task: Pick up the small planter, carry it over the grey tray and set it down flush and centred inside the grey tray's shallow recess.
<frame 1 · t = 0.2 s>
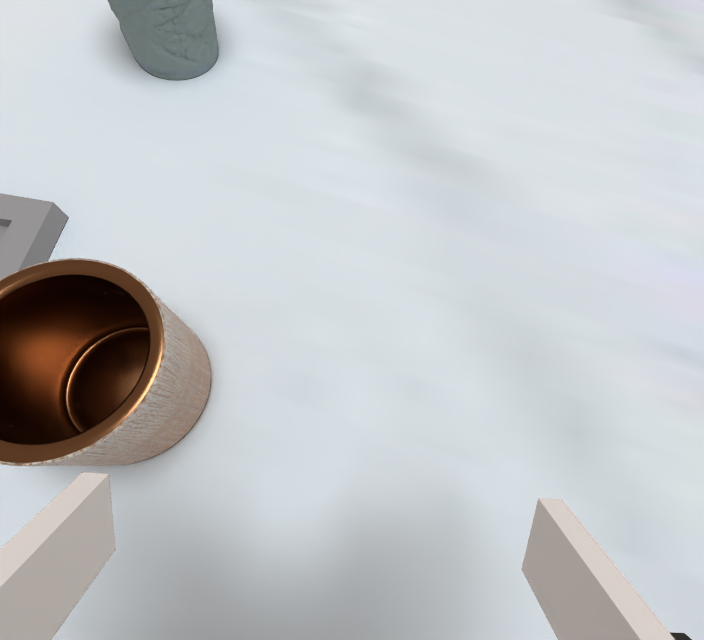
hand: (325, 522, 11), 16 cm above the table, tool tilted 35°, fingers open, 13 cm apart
planter: (138, 386, 28), on the table
grey cup: (180, 54, 40), on the table
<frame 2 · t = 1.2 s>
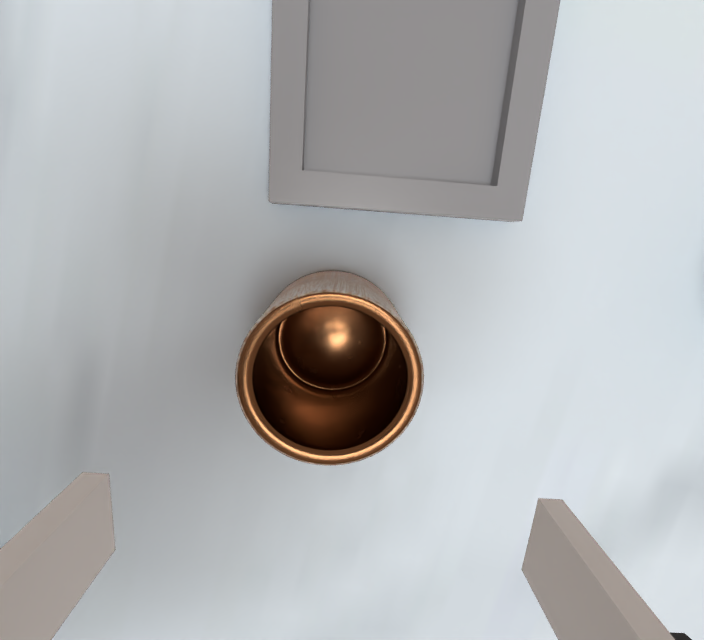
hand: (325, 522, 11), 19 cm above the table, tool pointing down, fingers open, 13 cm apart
grey tray: (406, 79, 26), on the table
planter: (332, 335, 30), on the table
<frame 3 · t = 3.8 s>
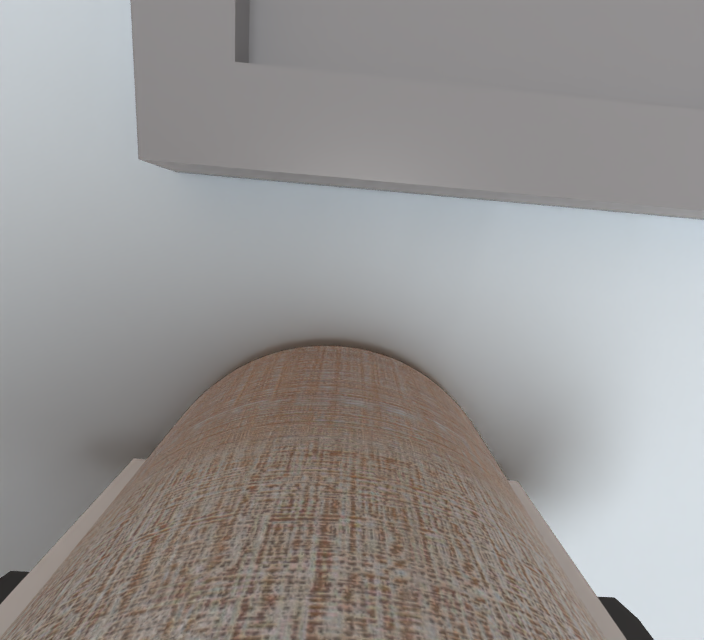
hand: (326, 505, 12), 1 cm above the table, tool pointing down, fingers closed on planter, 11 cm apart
planter: (328, 481, 13), on the table, touching gripper
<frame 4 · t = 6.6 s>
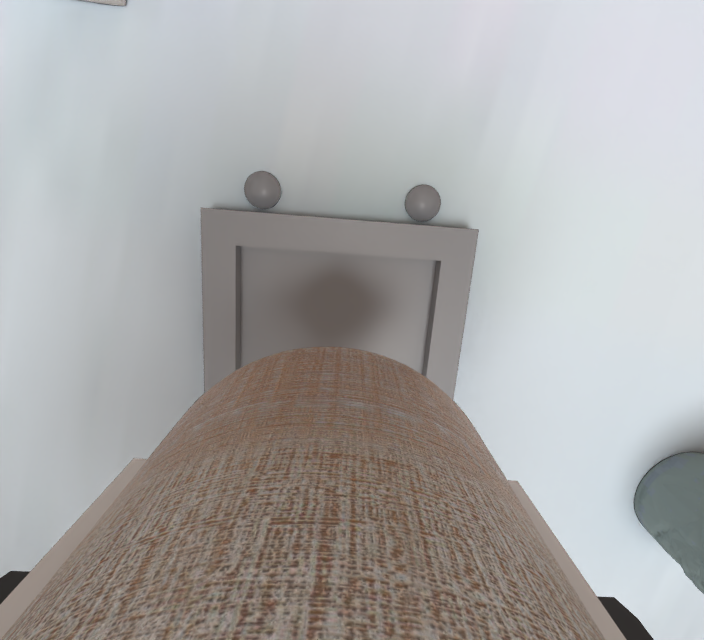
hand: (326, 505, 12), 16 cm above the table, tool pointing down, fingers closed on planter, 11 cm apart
grey tray: (333, 342, 28), on the table
planter: (328, 482, 13), point 15 cm above the table, touching gripper
grey cup: (679, 495, 32), on the table
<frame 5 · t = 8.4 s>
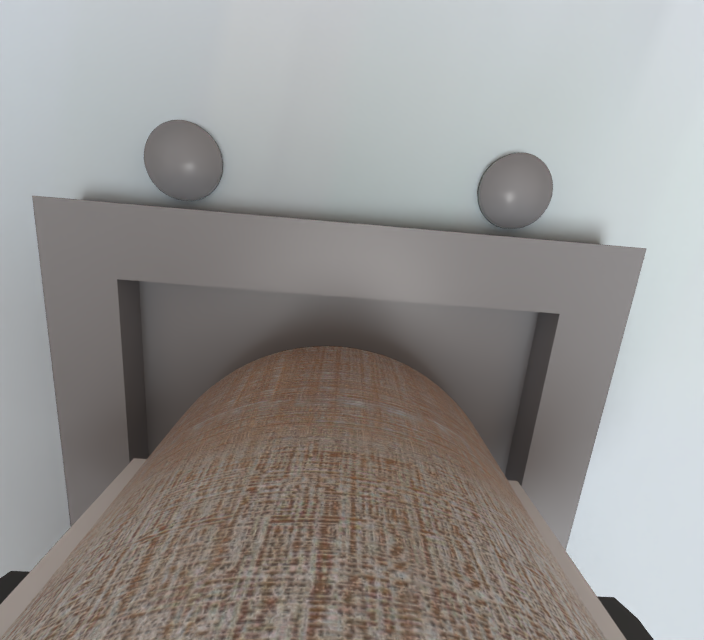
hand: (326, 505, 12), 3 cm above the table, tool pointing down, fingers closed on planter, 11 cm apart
grey tray: (330, 454, 15), on the table
planter: (328, 481, 13), point 2 cm above the table, touching gripper
when the fingers open (3 cm above the table, at t = 9.6 s): planter stays where it is, resting on grey tray.
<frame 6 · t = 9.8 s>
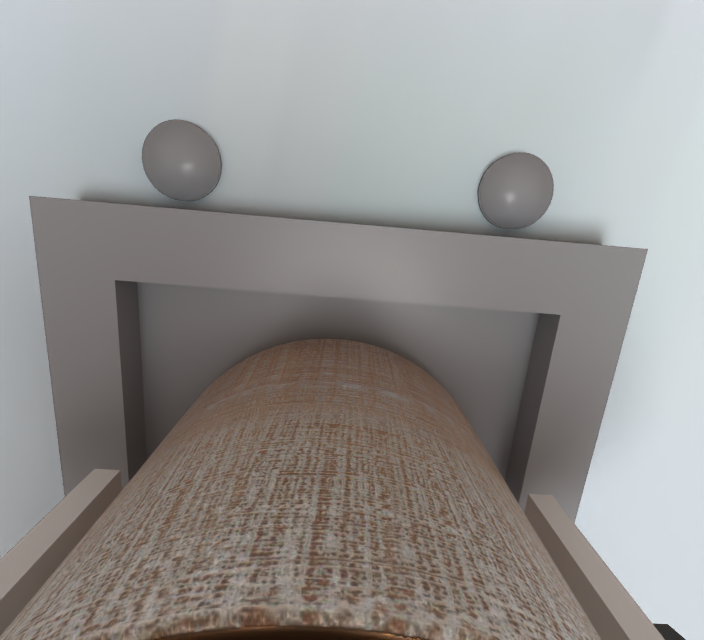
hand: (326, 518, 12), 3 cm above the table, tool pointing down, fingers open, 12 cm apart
grey tray: (330, 455, 15), on the table
planter: (328, 466, 14), point 1 cm above the table, touching grey tray
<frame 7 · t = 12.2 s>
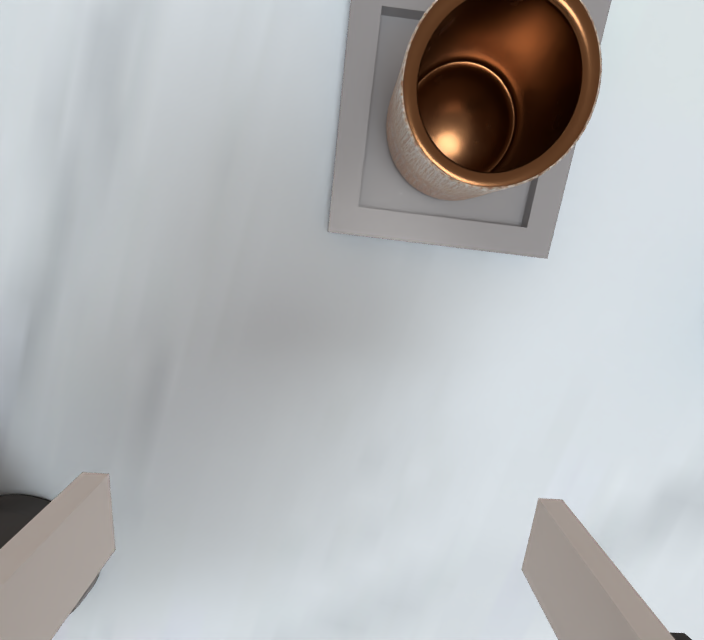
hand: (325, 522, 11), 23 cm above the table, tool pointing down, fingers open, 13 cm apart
grey tray: (452, 130, 30), on the table
planter: (454, 129, 29), point 1 cm above the table, touching grey tray
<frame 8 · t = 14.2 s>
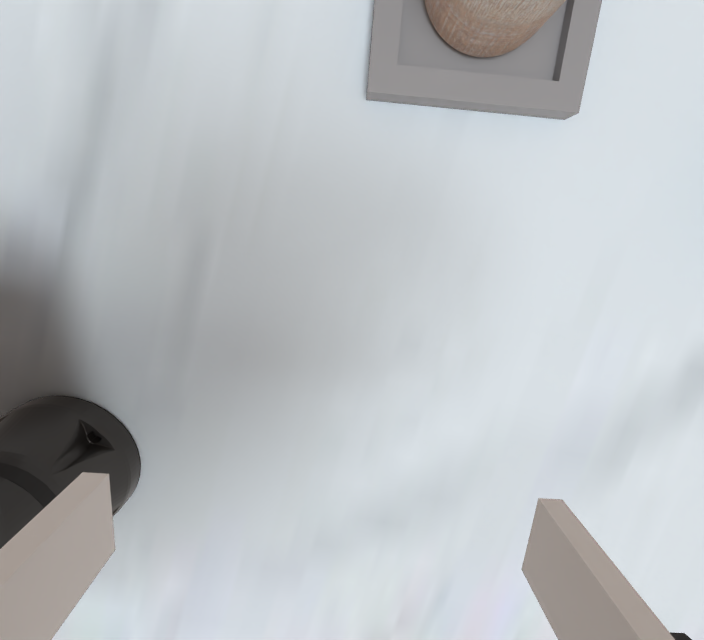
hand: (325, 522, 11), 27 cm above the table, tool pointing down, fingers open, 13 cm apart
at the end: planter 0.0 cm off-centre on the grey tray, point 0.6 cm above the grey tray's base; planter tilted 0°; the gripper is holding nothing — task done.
